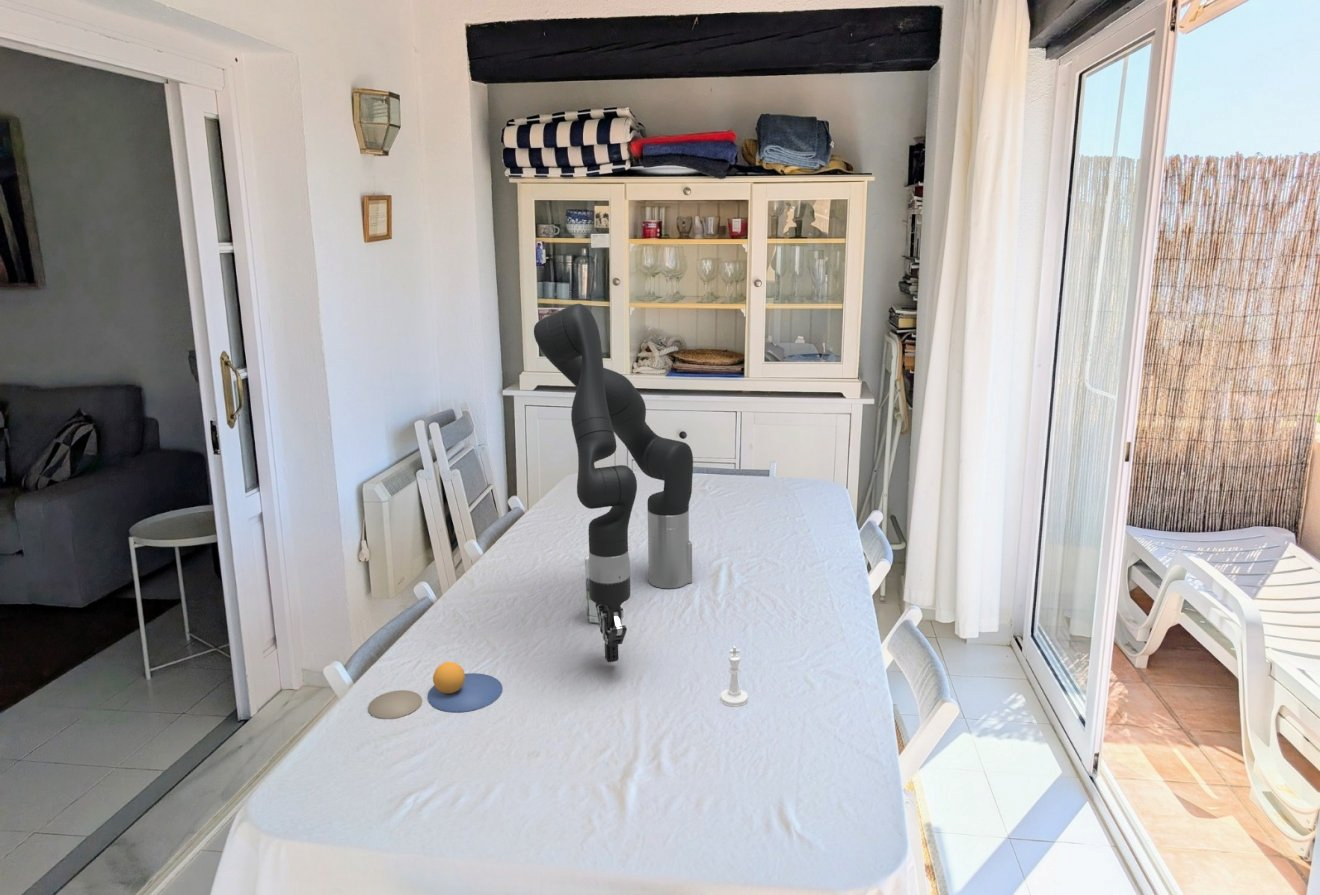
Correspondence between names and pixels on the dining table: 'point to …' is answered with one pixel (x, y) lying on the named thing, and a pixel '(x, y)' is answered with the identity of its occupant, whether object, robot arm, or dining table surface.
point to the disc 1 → (395, 704)
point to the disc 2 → (467, 694)
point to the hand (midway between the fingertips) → (611, 659)
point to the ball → (448, 677)
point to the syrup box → (591, 607)
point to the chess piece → (734, 684)
